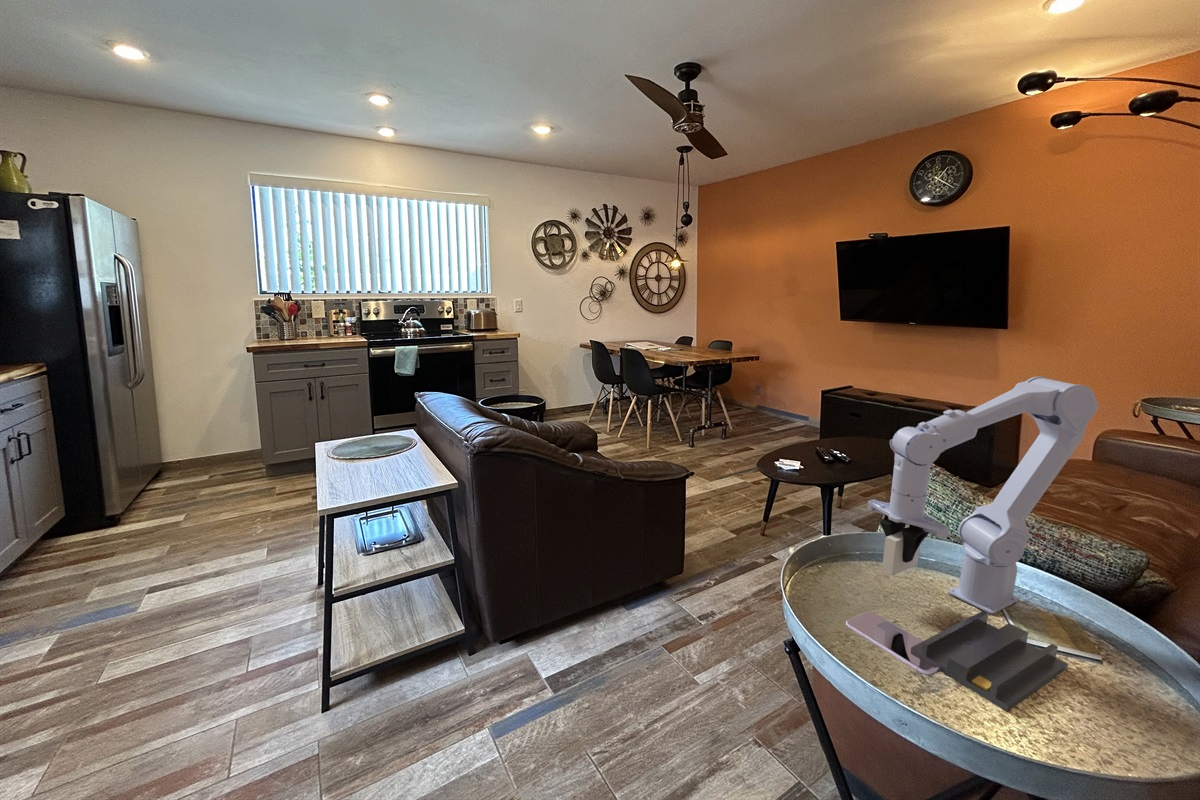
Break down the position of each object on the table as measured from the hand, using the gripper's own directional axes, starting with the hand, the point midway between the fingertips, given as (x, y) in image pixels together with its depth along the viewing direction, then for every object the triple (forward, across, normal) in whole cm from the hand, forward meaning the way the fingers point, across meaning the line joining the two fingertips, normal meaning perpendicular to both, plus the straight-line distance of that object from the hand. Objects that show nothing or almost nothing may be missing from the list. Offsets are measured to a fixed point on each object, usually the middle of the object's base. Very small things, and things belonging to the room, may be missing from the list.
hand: (900, 557), depth 100 cm
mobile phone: (+9, +8, -12) cm, 17 cm away
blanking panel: (+2, 0, 0) cm, 2 cm away
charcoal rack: (+8, +18, -4) cm, 20 cm away
